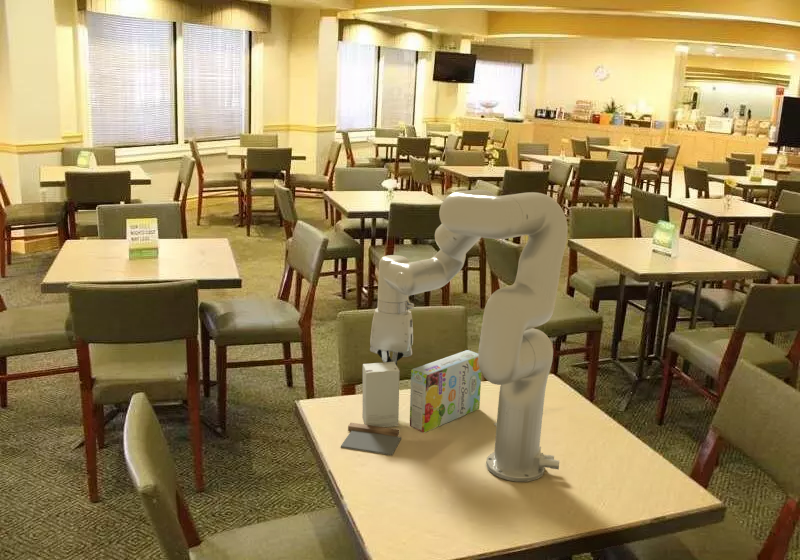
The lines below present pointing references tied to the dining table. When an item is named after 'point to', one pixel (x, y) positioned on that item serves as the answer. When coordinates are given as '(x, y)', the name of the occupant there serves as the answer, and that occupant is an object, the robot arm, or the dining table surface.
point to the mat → (371, 442)
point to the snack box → (444, 390)
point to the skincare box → (381, 394)
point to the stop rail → (373, 429)
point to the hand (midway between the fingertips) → (389, 375)
